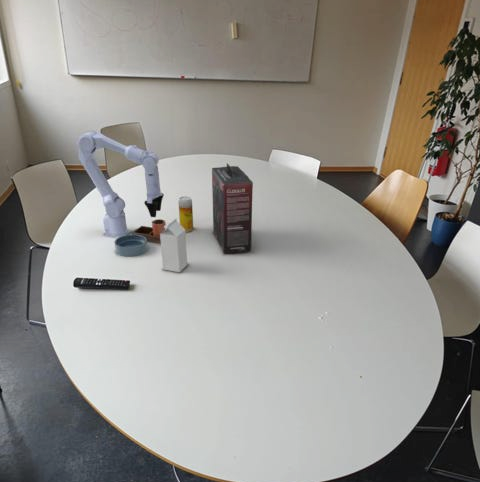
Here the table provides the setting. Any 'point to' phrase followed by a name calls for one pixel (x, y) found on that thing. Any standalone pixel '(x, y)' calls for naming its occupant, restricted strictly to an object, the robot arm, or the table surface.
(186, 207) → the beer can
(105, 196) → the robot arm
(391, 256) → the table surface
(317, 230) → the table surface
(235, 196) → the headset box
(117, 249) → the bowl
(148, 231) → the box
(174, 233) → the milk carton
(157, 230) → the cup
